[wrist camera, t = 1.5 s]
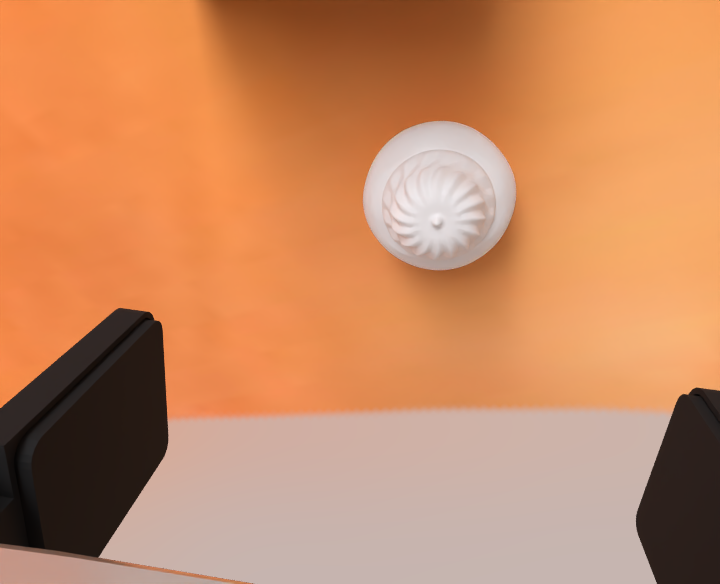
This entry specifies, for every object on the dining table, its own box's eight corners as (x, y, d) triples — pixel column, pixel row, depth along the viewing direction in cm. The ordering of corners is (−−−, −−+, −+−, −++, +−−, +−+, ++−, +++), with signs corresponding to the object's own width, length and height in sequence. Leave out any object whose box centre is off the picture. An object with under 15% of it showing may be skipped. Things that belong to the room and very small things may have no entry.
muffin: (499, 96, 26) (514, 118, 20) (516, 230, 28) (535, 289, 22) (360, 125, 27) (332, 156, 21) (387, 251, 29) (369, 313, 23)
